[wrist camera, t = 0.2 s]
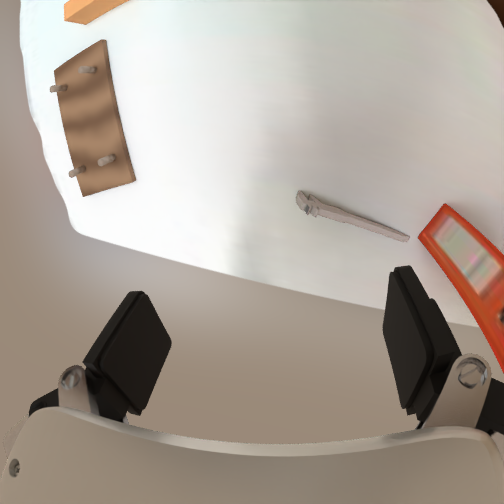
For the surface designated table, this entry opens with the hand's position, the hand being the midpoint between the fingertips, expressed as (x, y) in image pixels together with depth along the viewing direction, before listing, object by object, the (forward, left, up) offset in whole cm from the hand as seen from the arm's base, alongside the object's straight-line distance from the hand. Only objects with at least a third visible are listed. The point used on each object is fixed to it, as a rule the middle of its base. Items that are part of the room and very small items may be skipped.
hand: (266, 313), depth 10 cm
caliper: (+10, +10, -32) cm, 35 cm away
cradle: (-14, -30, -31) cm, 45 cm away
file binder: (+17, +30, -31) cm, 47 cm away
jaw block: (-35, -22, -31) cm, 51 cm away
